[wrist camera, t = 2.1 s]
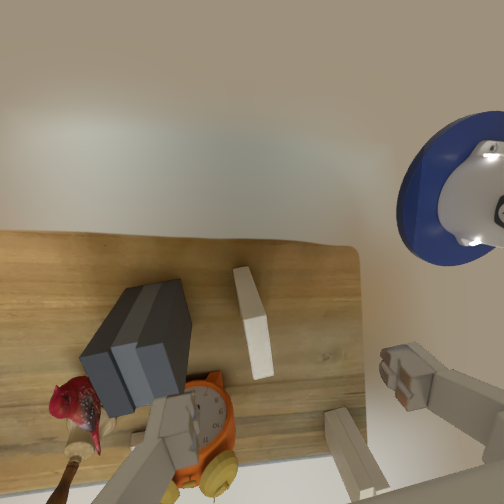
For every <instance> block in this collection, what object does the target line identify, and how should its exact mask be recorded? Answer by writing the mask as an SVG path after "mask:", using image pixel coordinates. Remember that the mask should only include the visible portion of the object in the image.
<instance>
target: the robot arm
mask: <svg viewBox="0 0 504 504" xmlns="http://www.w3.org/2000/svg"><path fill="white" fill-rule="evenodd" d="M437 209H438V218H439V221H440V223H441V225H442V226H443V228H444V229H445V230H446V231H448V232H450V233H451V234H453V235H454V236H455V238H456V240H457V242H458V243H459V244H460V245H463V246H470V245H472V246H474V245H477V244H480V243H482V244H486V245H490V246H495V247H500V248H504V142H501V141H491V140H483V141H481V142H479V143H478V144H477V146H476V147H475V148H474V150H473V151H472V153H471V154H470V156H469V157H468V158H467V159H466V160H465V161H464V162H463V163H462V164H460V165H459V166H458V167H457V168H456V169H455V170H454V171H453V172H452V173H451V175H450V176H449V177H448V179H447V180H446V182H445V184H444V186H443V188H442V190H441V193H440V196H439V200H438V208H437ZM380 356H381V358H382V359H383V360H382V361H381V363H380V365H379V371H380V374H381V378H382V379H383V381H384V383H385V384H386V385H387V387H388V388H390V389H392V390H394V391H395V396H396V398H397V399H398V401H399V402H400V403H401V404H402V406H403V407H404V408H405V409H406V411H413V410H418V409H422V408H426V407H428V408H427V409H429V410H430V411H432V412H433V413H435V414H436V415H438V416H440V417H441V418H443V419H444V420H446V421H447V422H449V423H451V424H452V425H454V426H455V427H457V428H458V429H460V430H461V431H463V432H464V433H466V434H468V435H469V436H471V437H472V438H474V439H476V440H477V441H479V442H480V443H482V444H483V445H485V446H486V447H485V450H484V453H483V456H482V459H483V462H484V463H485V465H481V466H478V467H474V468H471V469H467V470H464V471H460V472H457V473H453V474H450V475H446V476H443V477H439V478H436V479H432V480H429V481H425V482H422V483H418V484H415V485H411V486H408V487H404V488H401V489H398V490H394V491H390V492H387V493H383V494H380V495H376V496H373V497H369V498H366V499H362V500H359V501H355V502H352V503H348V504H504V390H503V389H500V388H498V387H495V386H493V385H490V384H488V383H485V382H483V381H480V380H478V379H475V378H473V377H470V376H468V375H466V374H463V373H461V372H458V371H456V370H454V369H451V370H449V369H448V368H447V367H445V366H444V365H443V364H442V363H441V362H440V361H438V360H437V359H436V358H435V357H434V356H433V355H431V354H430V353H429V352H428V351H427V350H425V349H424V348H423V347H422V346H421V345H420V344H418V343H416V342H412V343H408V344H404V345H398V346H394V347H389V348H385V349H382V350H381V353H380ZM195 399H196V397H195V394H194V391H190V392H185V393H179V394H174V395H169V396H165V397H159V398H155V399H154V401H153V403H152V406H151V410H150V414H149V418H148V422H147V426H146V430H145V434H144V438H143V442H141V443H138V444H137V446H136V447H135V448H134V450H133V451H132V452H131V453H130V455H129V456H128V457H127V458H126V460H125V461H124V462H123V464H122V465H121V466H120V467H119V469H118V470H117V471H116V472H115V474H114V475H113V476H112V478H111V479H110V480H109V481H108V483H107V484H106V485H105V487H104V488H103V489H102V490H101V492H100V493H99V494H98V496H97V497H96V498H95V499H94V501H93V502H92V503H91V504H159V503H160V501H161V499H162V497H163V495H164V494H165V492H166V490H167V488H168V486H169V484H170V482H171V480H172V478H173V476H174V474H175V471H176V470H179V469H183V468H186V467H190V466H194V465H197V464H199V446H200V444H199V440H198V437H197V436H198V435H199V433H200V413H199V408H198V405H197V404H195Z"/></svg>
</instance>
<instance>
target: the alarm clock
mask: <svg viewBox="0 0 504 504" xmlns="http://www.w3.org/2000/svg"><path fill="white" fill-rule="evenodd" d="M190 391H194V394H195V397H196V399H195V404H197V405H198V408H199V413H200V433H199V435H198V436H197V437H198V440H199V444H200V446H199V464H197V465H194V466H190V467H186V468H183V469H179V470H176V471H175V474H174V476H173V478H172V480H171V482H170V484H169V486H168V488H167V490H166V492H165V494H164V495H163V497H162V499H161V501H160V503H159V504H174V503H175V501H176V500H177V499H178V497H179V496H180V492H179V490H178V488H183V489H184V488H194V487H196V486H199V488H200V490H201V491H202V492H203V494H204V495H205V496H208V497H212V498H214V499H215V497H217V496H219V495H221V494H222V493H223V492H224V491H226V489H228V488H229V487H230V485H231V483H232V482H233V480H234V478H235V477H236V474H237V470H238V460H237V458H236V455H235V452H234V451H232V450H233V447H234V444H235V432H236V430H235V421H234V412H233V406H232V402H231V398H230V396H229V395H228V393H227V392H226V391H225V389H224V388H223V382H222V374H221V371H216V372H210V373H209V375H208V377H207V378H206V380H192V381H189V382H185V391H184V393H185V392H190ZM214 501H215V500H214Z"/></svg>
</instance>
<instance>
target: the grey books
mask: <svg viewBox="0 0 504 504" xmlns="http://www.w3.org/2000/svg"><path fill="white" fill-rule="evenodd" d="M191 330H192V322H191V319H190V315H189V311H188V307H187V303H186V300H185V296H184V292H183V288H182V285H181V281H180V279H176V280H171V281H165V282H160V283H154V284H149V285H143V286H138V287H133V288H127V289H125V291H124V292H123V294H122V295H121V297H120V298H119V299H118V301H117V302H116V304H115V305H114V307H113V308H112V310H111V311H110V313H109V314H108V316H107V317H106V319H105V320H104V322H103V323H102V325H101V326H100V328H99V329H98V331H97V332H96V333H95V335H94V336H93V338H92V339H91V341H90V342H89V344H88V345H87V347H86V348H85V350H84V351H83V353H82V354H81V356H80V357H79V359H80V361H81V363H82V365H83V367H84V369H85V371H86V373H87V375H88V377H89V379H90V381H91V383H92V385H93V387H94V389H95V391H96V393H97V395H98V397H99V399H100V401H101V403H102V405H103V407H104V409H105V411H106V413H107V415H108V417H109V419H110V418H114V417H118V416H122V415H127V414H131V413H134V412H135V409H136V408H137V407H141V406H146V405H150V404H152V403H153V401H154V399H155V398H159V397H165V396H169V395H174V394H179V393H184V391H185V382H186V374H187V365H188V356H189V347H190V339H191Z"/></svg>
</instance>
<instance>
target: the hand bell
mask: <svg viewBox="0 0 504 504" xmlns="http://www.w3.org/2000/svg"><path fill="white" fill-rule="evenodd" d="M100 408H101V416H100V421H99V440H101V439H102V438H103V437H104V436H106V435H107V434H109V433H110V432H111V431H112V430H113V429H114V427H115V425H116V417H114V418H110V419H109V417H108V415H107V413H106V411H105V409H104V407H101V406H100ZM67 428H68V430H69V438H68V442H67V445H66V447H65V450H64V454H65V456H66V457H67V458H68V459H70V460H69V462H68V464H67V466H66V469H65V471H64V474H63V476H62V479H61V481H60V483H59V485H58V486H57V488H56V489H55V491H54V492H53V493H52V495H51V496H50V498H49V499H48V501H47V503H46V504H66V502H67V498H68V493H69V488H70V484H71V482H72V480H73V477H74V475H75V473H76V471H77V469H78V467H79V464H80V462H81V461H82V460H85V459H88V458H89V457H90V456H91V455H92V454H93V453H94V451H95V449H96V447H95V444H94V440H93V437H92V435H91V433H90V432H88V431H85V430H83V429H81V428H80V427H78V426H77V425H76V424H75V423H74V422H73V421H72V420H70V419H69V418H68V419H67Z"/></svg>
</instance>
